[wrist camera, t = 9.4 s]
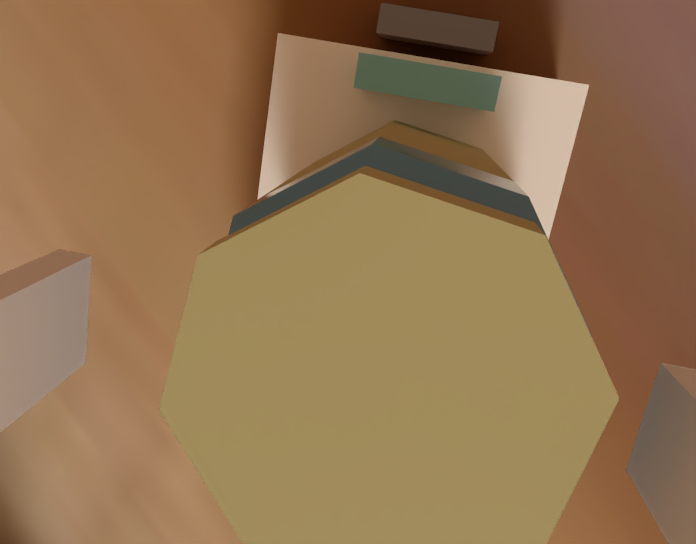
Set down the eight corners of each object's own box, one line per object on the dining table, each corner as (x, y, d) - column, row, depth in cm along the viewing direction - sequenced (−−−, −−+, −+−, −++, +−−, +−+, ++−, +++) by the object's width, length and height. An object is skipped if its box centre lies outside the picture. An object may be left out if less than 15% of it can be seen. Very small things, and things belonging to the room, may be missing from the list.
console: (268, 314, 35) (220, 384, 26) (354, -317, 26) (323, -498, 18) (489, 358, 34) (510, 443, 26) (647, -279, 26) (751, -449, 18)
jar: (392, 68, 25) (349, 40, 10) (565, 223, 26) (748, 395, 11) (250, 242, 27) (57, 411, 13) (412, 377, 28) (399, 677, 14)
